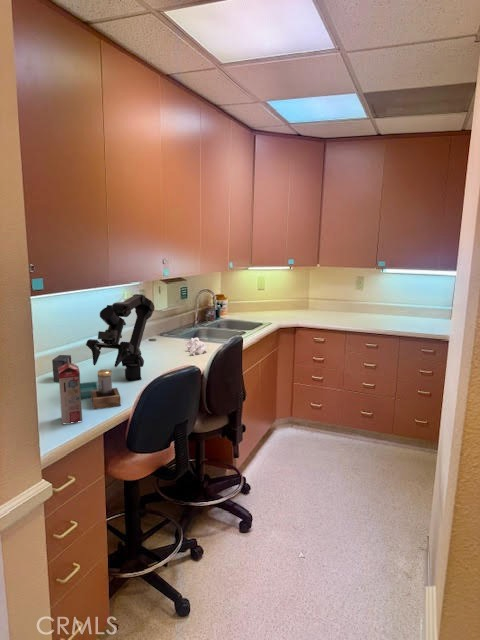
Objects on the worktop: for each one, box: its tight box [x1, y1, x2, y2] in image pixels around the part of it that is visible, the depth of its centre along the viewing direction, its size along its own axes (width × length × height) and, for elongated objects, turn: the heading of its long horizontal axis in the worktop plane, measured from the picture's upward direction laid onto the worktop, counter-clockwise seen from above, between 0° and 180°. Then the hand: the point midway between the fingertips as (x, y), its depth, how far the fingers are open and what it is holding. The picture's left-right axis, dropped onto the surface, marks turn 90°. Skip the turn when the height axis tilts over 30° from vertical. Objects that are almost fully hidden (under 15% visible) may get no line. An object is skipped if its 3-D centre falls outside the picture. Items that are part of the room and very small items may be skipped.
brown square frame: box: [90, 387, 122, 410], centre depth 170 cm, size 10×10×4 cm
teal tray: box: [80, 380, 99, 400], centre depth 179 cm, size 11×11×3 cm
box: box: [51, 354, 72, 383], centre depth 195 cm, size 8×6×11 cm
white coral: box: [183, 337, 208, 356], centre depth 244 cm, size 12×9×10 cm
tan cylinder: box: [97, 368, 113, 397], centre depth 169 cm, size 5×5×13 cm
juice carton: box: [58, 358, 83, 425], centre depth 152 cm, size 7×7×22 cm
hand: (104, 365), depth 172 cm, fingers open, 9 cm apart
